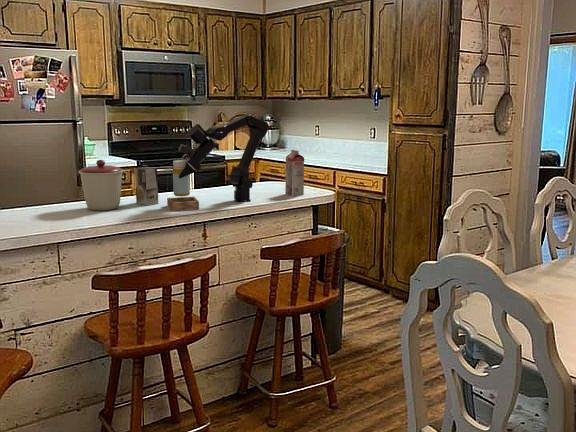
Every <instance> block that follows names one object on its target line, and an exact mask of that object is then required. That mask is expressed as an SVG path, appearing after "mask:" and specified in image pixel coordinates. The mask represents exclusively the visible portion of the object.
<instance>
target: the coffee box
mask: <svg viewBox="0 0 576 432" xmlns="http://www.w3.org/2000/svg"><path fill="white" fill-rule="evenodd" d="M133 169H134V184H135V200H136V204H140V205H145V206H152V205H158V204H159V188H158V187H159V186H158V185H159V183H158V182H159V181H158V168H156V167H149V166H142V167H134V168H133Z"/></svg>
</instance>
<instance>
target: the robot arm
mask: <svg viewBox="0 0 576 432" xmlns="http://www.w3.org/2000/svg"><path fill="white" fill-rule="evenodd" d="M245 126H246V127H247V128H249V131H248V132H249V139H248V141H247V143H246V146H245V148H244V151H243V153H242V156H241V157H240V160H239V163H238V165H237V166H232V168H231V172H230V173H229V175H230V176H229V180H230V183H231V184H232V187H234V191H233V199H234V200H235V201H236V202H251V201H252V200H251V198H250V192H251V191H250V189H252V188H253V184H254V183H253V182H252V181H251V180H250V179H249V178H250V166H251V163H252V161H253V158H254V156H255V153H256V151H257V149H258V147H259V144H260V141H261V140H263V138H264V137H265V136H266V135H267V133H268V132H269V130H270V129H269V128H270V126H269V124H268V122H267V121H265V120H261V119H259V118H257V117H254V116H253V115H252V114H242V115H241V116H238V117H237V118H235V119H232V120H230V121H228V122H227V123H224V124H219V125H213V126H210V127H208V128H207V129H206V130H205V129H204V128H203V127H202V125H200V123H199V124H197V123H196V124H195V125H194V126H192V127H191V128H189V129H188V130H187V133H186V135H187V137H189V139H190V140H191V141H193V143H194V144H196V145H197V146H196V147H195V146H194V147H193V148H191V145H189V144H186V145H184V144H182V143H180V146H179V147H178V152H180V153H183V155H182V157H181V160H187V162H188V163H187V162H186V161H185V168H184V169H183V170H182V172H181V173H180V175H179V176H178V177H179V178H183V177H185V176H187V175H189V176H190V175H192V174H194V173H197V172H200V171H201V169H202V165H201V163H202V162H203V161H204V160H205V159H207V156H208V155H209V154H210V153H211V152H212V151H213V150H217V151H219V150H220V143H218V142H215V141H223V140H224V139H225V138H227V137H228V135H229V134H230V133H232V132H234V131H237V130H239V129H240V128H243V127H245Z"/></svg>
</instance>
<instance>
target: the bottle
mask: <svg viewBox="0 0 576 432" xmlns="http://www.w3.org/2000/svg"><path fill="white" fill-rule="evenodd" d="M185 161H186V162H187V160H184V159H183V160H182V159H177V160H173V161H172V163H173V169H172V185H173V186H172V187H173V188H172V189H173V195H174V196H175V197H189V196H190V194H191V191H190V190H191V189H190V187H191V186H190V175H187V176H185V177H183V178H179V177H178V176H179V175H180V173H181V172H182V170H183V169H184V168H185ZM187 163H188V162H187Z"/></svg>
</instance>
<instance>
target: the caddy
mask: <svg viewBox="0 0 576 432" xmlns="http://www.w3.org/2000/svg"><path fill="white" fill-rule="evenodd" d="M166 201H167V205H166V206H167V208H168V209H169V210H170V212H175V211H177V212H179V211H194V210H200V201H199V200H198V199H197V198H196V197H195V196H175V197H167V199H166Z"/></svg>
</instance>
